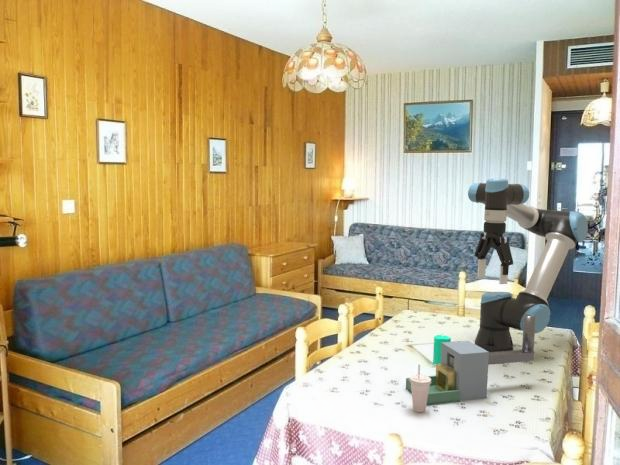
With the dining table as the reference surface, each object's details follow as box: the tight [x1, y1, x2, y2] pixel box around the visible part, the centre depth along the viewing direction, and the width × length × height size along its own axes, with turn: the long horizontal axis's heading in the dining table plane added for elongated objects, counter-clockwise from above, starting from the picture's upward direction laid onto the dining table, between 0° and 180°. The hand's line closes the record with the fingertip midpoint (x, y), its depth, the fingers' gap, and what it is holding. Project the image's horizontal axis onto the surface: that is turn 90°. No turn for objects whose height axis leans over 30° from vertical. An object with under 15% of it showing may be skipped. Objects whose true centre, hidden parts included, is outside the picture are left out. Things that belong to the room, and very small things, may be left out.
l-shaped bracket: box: [449, 315, 536, 368], centre depth 179 cm, size 30×4×15 cm, turn 105°
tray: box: [405, 375, 461, 406], centre depth 175 cm, size 12×14×4 cm
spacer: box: [435, 363, 456, 392], centre depth 176 cm, size 2×8×8 cm, turn 15°
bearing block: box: [441, 340, 489, 401], centre depth 178 cm, size 10×12×15 cm
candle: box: [432, 332, 452, 365], centre depth 203 cm, size 6×6×12 cm
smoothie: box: [409, 363, 431, 413], centre depth 164 cm, size 6×6×14 cm
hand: (491, 280), depth 198 cm, fingers open, 13 cm apart
